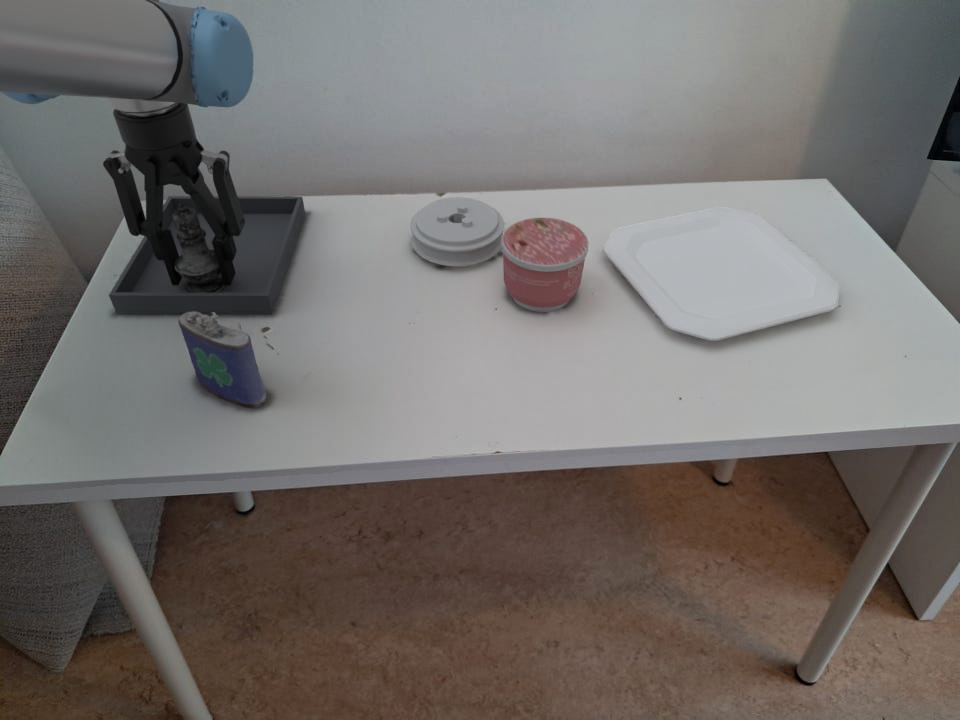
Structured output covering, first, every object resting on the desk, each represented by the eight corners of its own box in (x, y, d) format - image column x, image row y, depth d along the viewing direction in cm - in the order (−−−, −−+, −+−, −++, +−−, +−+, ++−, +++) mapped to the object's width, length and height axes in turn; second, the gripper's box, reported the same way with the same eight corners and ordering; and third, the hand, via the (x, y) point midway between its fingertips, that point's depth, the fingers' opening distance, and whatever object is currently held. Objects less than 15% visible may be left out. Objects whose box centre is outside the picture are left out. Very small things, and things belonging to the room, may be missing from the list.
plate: (856, 313, 90) (863, 299, 89) (683, 359, 84) (686, 345, 82) (739, 213, 107) (743, 200, 106) (587, 245, 101) (589, 231, 100)
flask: (272, 397, 79) (251, 321, 72) (253, 414, 77) (230, 338, 70) (209, 368, 83) (183, 293, 75) (190, 384, 81) (161, 309, 73)
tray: (272, 314, 90) (267, 295, 88) (116, 313, 90) (108, 295, 88) (305, 213, 107) (302, 196, 105) (174, 213, 107) (168, 195, 105)
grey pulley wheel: (393, 242, 101) (390, 211, 98) (463, 211, 107) (463, 180, 104) (451, 284, 94) (450, 251, 91) (522, 248, 100) (523, 216, 97)
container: (561, 262, 98) (565, 210, 93) (596, 308, 91) (604, 255, 85) (488, 278, 95) (488, 226, 90) (518, 327, 88) (521, 273, 83)
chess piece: (173, 295, 92) (144, 212, 84) (194, 268, 96) (168, 187, 88) (217, 300, 91) (192, 217, 83) (236, 273, 95) (214, 191, 87)
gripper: (246, 88, 80) (284, 262, 96) (74, 87, 80) (140, 261, 96) (229, 118, 75) (272, 297, 90) (44, 117, 74) (119, 296, 90)
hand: (204, 278), depth 93 cm, fingers closed on chess piece, 6 cm apart
